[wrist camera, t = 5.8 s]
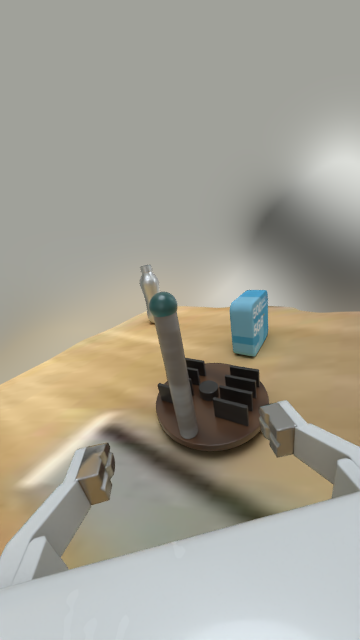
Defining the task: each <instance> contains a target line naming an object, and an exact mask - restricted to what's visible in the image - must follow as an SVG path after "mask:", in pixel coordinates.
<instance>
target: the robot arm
mask: <svg viewBox="0 0 360 640" xmlns="http://www.w3.org/2000/svg"><path fill="white" fill-rule="evenodd" d="M258 412H259V414H260V417H259V425H260V429H261V431H262V433H263V435H264V437H265V438H267V439H268V440H270V447H271V448H272V450H273V452H274V453H275V455H276V457H277V458H278V457H283V456H287V455H292V454H294V456H296V457H297V458H298V459H300V460H301V461H302V462H304V463H305V464H306V465H308V466H309V467H311V468H312V469H313V470H315V471H316V472H317V473H319V474H320V475H321V476H323V477H324V478H325V479H327V480H328V481H330V482H331V483H332V484H334V486H333V492H332V499H329V500H325V501H322V502H318V503H314V504H311V505H307V506H303V507H300V508H296V509H292V510H289V511H285V512H281V513H277V514H274V515H270V516H266V517H263V518H259V519H255V520H251V521H248V522H244V523H240V524H236V525H233V526H229V527H225V528H222V529H218V530H214V531H211V532H207V533H203V534H199V535H196V536H192V537H188V538H185V539H181V540H177V541H174V542H170V543H166V544H163V545H159V546H155V547H151V548H148V549H144V550H140V551H137V552H133V553H129V554H126V555H122V556H118V557H115V558H111V559H107V560H103V561H100V562H96V563H92V564H89V565H85V566H81V567H78V568H74V569H70V570H69V569H68V567H67V565H66V564H65V563H64V561H63V560H62V559H61V556H62V554H63V553H64V551H65V549H66V548H67V546H68V544H69V543H70V541H71V540H72V538H73V536H74V535H75V533H76V531H77V530H78V528H79V526H80V525H81V523H82V521H83V520H84V518H85V516H86V515H87V513H88V511H89V510H90V508H91V505H94V504H97V503H101V502H104V501H108V500H110V494H111V488H112V483H111V480H110V479H111V478H112V476H113V475H114V471H115V459H114V455H113V453H111V452H109V451H110V446H109V444H108V443H103V444H98V445H94V446H89V447H85V448H80V449H77V450H76V452H75V453H74V456H73V459H72V461H71V464H70V466H69V469H68V471H67V474H66V477H65V479H64V482H63V484H61V485H59V486H58V487H57V488H56V489H55V490H54V492H53V493H52V494H51V495H50V496H49V497H48V498H47V499H46V501H45V502H44V503H43V504H42V505H41V506H40V507H39V508H38V510H37V511H36V512H35V513H34V514H33V515H32V516H31V517H30V519H29V520H28V521H27V522H26V523H25V524H24V525H23V526H22V528H21V529H20V530H19V531H18V532H17V533H16V534H15V535H14V537H13V538H12V539H11V540H10V541H9V542H8V543H7V545H6V547H5V549H4V551H3V553H2V555H1V557H0V640H360V447H359V446H356V445H354V444H352V443H350V442H348V441H346V440H344V439H342V438H340V437H338V436H336V435H334V434H332V433H330V432H327V431H325V430H323V429H321V428H319V427H317V426H315V425H313V424H307V422H306V421H305V420H304V419H303V418H302V417H301V416H300V415H299V413H298V412H297V411H296V410H295V409H294V408H293V407H292V406H291V404H290V403H289V402H288V401H286V400H285V401H280V402H277V403H272V404H268V405H264V406H260V407H259V408H258Z"/></svg>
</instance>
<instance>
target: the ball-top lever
mask: <svg viewBox="0 0 360 640" xmlns="http://www.w3.org/2000/svg"><path fill="white" fill-rule="evenodd" d="M149 309H150V312H151V314H152V315H153V318H154V322H155V326H156V331H157V335H158V339H159V344H160V348H161V352H162V357H163V361H164V366H165V370H166V374H167V375H166V376H167V380H168V381H167V382H166V383H165V384H161V383H159V384H158V389H159V394H158V396H157V401H156V412H157V416H158V419H159V422H160V424H161V426H162V428H163V429H164V431H165V432H166V433H167V434H168V435H169V436H170V437H171V438H172V439H174V440H175V441H176V442H178V443H180V444H182V445H184V446H186V447H189V448H192V449H197V450H202V451H221V450H226V449H231V448H234V447H237V446H239V445H242V444H244V443H246V442H247V441H249V440H250V439H252V438H253V437H254V436H255V435H256V434H257V433H258V432H259V431H260V430H261V429H260V425H259V417H260V414H259V412H258V408H259V407H260V406H264V405H268V404H269V399H268V394H267V391H266V389H265V387H264V386H263V384H262V383H261V382H260V379H259V370H258V369H252V368H245V367H239V366H233V365H229V364H222V363H207V364H205V363H204V361H202V360H195V359H189V358H185V355H184V349H183V344H182V338H181V333H180V327H179V322H178V317H177V301H176V299H175V298H174V296H173V295H171V294H170V293H168V292H159V293H156V294H155V295H154V296H153V297H152V298H151V300H150V302H149Z"/></svg>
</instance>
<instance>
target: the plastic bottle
mask: <svg viewBox="0 0 360 640" xmlns="http://www.w3.org/2000/svg"><path fill="white" fill-rule="evenodd" d="M140 268H141V272H142V276H141V279H140V286H141V289H142V291H143V294H144V297H145V301H146V304H147V315H148V319H149V321H150V322H152V323H155V322H154V318H153V315H152V314H151V312H150V309H149V302H150V300H151V298H152V297H153V296H154V295H155V294H156V293H159V283H158V279H157V277H156V276H155V275H154V274H153V273H152V268H151V265H145V266H141V267H140Z"/></svg>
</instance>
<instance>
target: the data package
mask: <svg viewBox="0 0 360 640" xmlns="http://www.w3.org/2000/svg"><path fill="white" fill-rule="evenodd" d="M267 297H268V296H267V291H266V290H247V291H245V292H244V293H243V294H242V295H240V296H239V297H238V298H237V299H236V300H234V301H233V302H232V303H231V306H230V320H231V332H232V344H233V351H234V353H237V354H243V355H248V356H253V357H254V356H256V354H257V352H258V351H259V349H260V347H261V346H262V344H263V342H264V340H265V339H266V337H267V334H268V302H267V300H268V298H267Z"/></svg>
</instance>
